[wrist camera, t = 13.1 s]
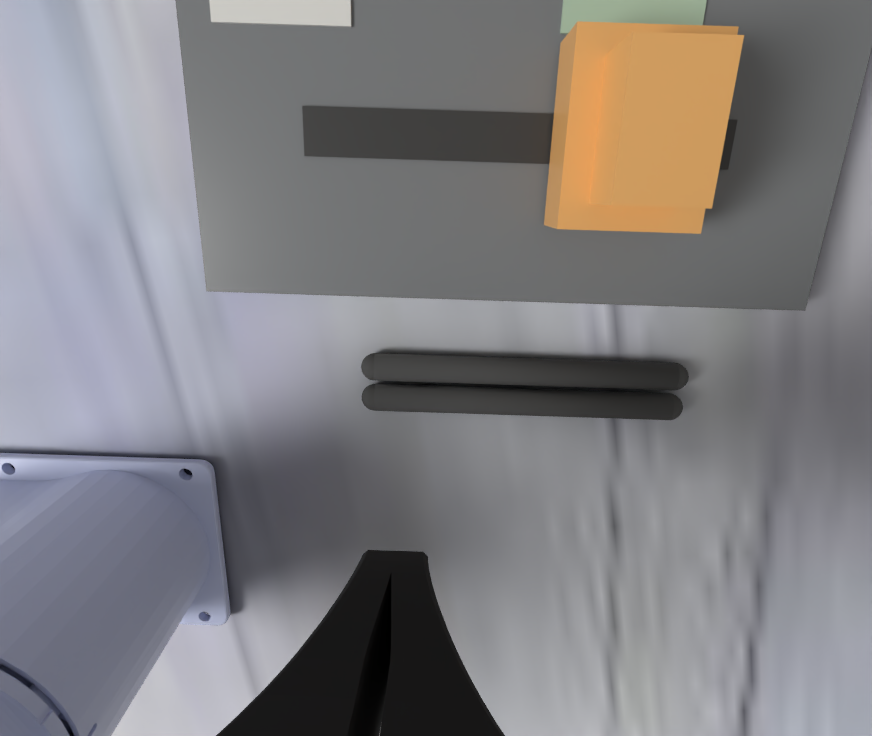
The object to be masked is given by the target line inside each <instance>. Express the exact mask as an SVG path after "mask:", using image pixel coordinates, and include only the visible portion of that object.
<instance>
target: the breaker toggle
mask: <svg viewBox="0 0 872 736" xmlns="http://www.w3.org/2000/svg"><path fill="white" fill-rule="evenodd" d="M738 28H739V27H738V26H707V25H676V24H645V23H613V22H582V21H578V22H577V23H576V24H575V25H574V27H573V28H572V29H571V30H570V32H569V33H568V34H567V35H566V37H565V38H564V39H563V40H562V42H561V43H560V54H559V65H558V76H557V86H556V97H555V108H554V119H553V130H552V141H551V152H550V163H549V174H548V185H547V196H546V207H545V218H544V225H545V226H549V227H552V228H555V229H568V230H599V231H630V232H661V233H692V234H701V231H702V225H703V220H704V214H705V209H706V208H709V209H712V205H713V200H714V195H715V189H716V184H717V178H718V173H719V168H720V162H721V157H722V152H723V146H724V141H725V135H726V130H727V125H728V119H729V114H730V109H731V103H732V98H733V93H734V87H735V82H736V76H737V71H738V66H739V60H740V55H741V50H742V44H743V39H744V35H737V33H738Z"/></svg>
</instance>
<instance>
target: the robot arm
mask: <svg viewBox="0 0 872 736" xmlns="http://www.w3.org/2000/svg"><path fill="white" fill-rule="evenodd" d="M9 463H10V464H12V465H13V466H14V468H15V469H13V468H12V467H11V466H10V464H9ZM184 469H188V470H190V471H191V473H192V475H187V474H186V473H185V472H184ZM204 612H207V613H208V614H210V615H208V614H205V613H204ZM230 612H231V611H230V602H229V594H228V585H227V576H226V567H225V559H224V550H223V541H222V532H221V523H220V515H219V506H218V497H217V488H216V479H215V471H214V468H213V466H212V465H211V464H210V463H209V462H207V461H206V460H201V459H172V458H141V457H110V456H79V455H48V454H17V453H0V736H111V735H112V733H113V732H114V730H115V728H116V727H117V725H118V723H119V722H120V720H121V719H122V717H123V715H124V714H125V712H126V710H127V709H128V707H129V705H130V704H131V702H132V700H133V699H134V697H135V696H136V694H137V692H138V691H139V689H140V687H141V686H142V684H143V682H144V681H145V679H146V677H147V676H148V674H149V673H150V671H151V669H152V668H153V666H154V664H155V663H156V661H157V659H158V658H159V656H160V655H161V653H162V651H163V650H164V648H165V646H166V645H167V643H168V641H169V640H170V638H171V636H172V635H173V633H174V632H175V630H176V628H177V627H178V625H179V624H193V625H222V624H224V623H226V621H227V620H228V618H229V616H230ZM380 728H381V730H380ZM379 733H380V736H505V735H504V734H503V732H502V731H501V729H500V728H499V726H498V725H497V723H496V722H495V720H494V718H493V717H492V715H491V713H490V712H489V710H488V708H487V707H486V705H485V703H484V702H483V700H482V698H481V697H480V695H479V693H478V691H477V689H476V688H475V686H474V684H473V682H472V680H471V678H470V677H469V675H468V673H467V671H466V669H465V667H464V665H463V663H462V661H461V659H460V656H459V654H458V652H457V650H456V648H455V645H454V643H453V641H452V639H451V636H450V634H449V632H448V629H447V627H446V624H445V621H444V619H443V616H442V613H441V611H440V608H439V605H438V602H437V599H436V596H435V592H434V589H433V585H432V582H431V577H430V573H429V567H428V556H427V555H426V554H425V553H424V552H411V551H380V550H368V551H367V552H365V553H364V554H363V556H362V558H361V560H360V562H359V564H358V566H357V567H356V569H355V571H354V573H353V574H352V576H351V578H350V580H349V581H348V583H347V584H346V586H345V588H344V589H343V591H342V592H341V594H340V595H339V597H338V598H337V600H336V601H335V603H334V604H333V606H332V607H331V608H330V610H329V611H328V613H327V614H326V616H325V617H324V619H323V620H322V621H321V623H320V624H319V625H318V627H317V628H316V629H315V630H314V632H313V633H312V634H311V636H310V637H309V638H308V639H307V641H306V642H305V643H304V645H303V646H302V647H301V648H300V650H299V651H298V652H297V653H296V654H295V656H294V657H293V658H292V659H291V660H290V662H289V663H288V664H287V665H286V666H285V667H284V668H283V670H282V671H281V672H280V673H279V674H278V675H277V676H276V677H275V678H274V679H273V681H272V682H271V683H270V684H269V685H268V686H267V687H266V688H265V689H264V690H263V691H262V692H261V693H260V694H259V695H258V696H257V697H256V698H255V699H254V700H253V701H252V702H251V703H250V704H249V705H248V706H247V707H246V708H245V709H244V710H243V711H242V712H241V713H240V714H239V715H238V716H237V717H236V718H235V719H234V720H233V721H232V722H231V723H229V724H228V725H227V726H226V727H225V728H224V729H223V730H222V731H221V732H220V733H219V734H217V735H216V736H379Z"/></svg>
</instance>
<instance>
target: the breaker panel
mask: <svg viewBox="0 0 872 736" xmlns="http://www.w3.org/2000/svg"><path fill="white" fill-rule="evenodd" d="M176 9H177V18H178V28H179V37H180V47H181V56H182V65H183V75H184V84H185V94H186V103H187V112H188V122H189V131H190V141H191V150H192V159H193V169H194V178H195V188H196V197H197V206H198V216H199V225H200V235H201V244H202V253H203V263H204V272H205V282H206V291H213V292H244V293H275V294H306V295H337V296H368V297H399V298H430V299H462V300H493V301H524V302H555V303H586V304H617V305H648V306H679V307H710V308H741V309H772V310H803V311H805V309H806V305H807V301H808V297H809V293H810V290H811V286H812V282H813V278H814V274H815V270H816V266H817V262H818V258H819V254H820V250H821V246H822V242H823V238H824V234H825V230H826V227H827V223H828V219H829V215H830V211H831V207H832V203H833V199H834V195H835V191H836V187H837V183H838V179H839V175H840V171H841V167H842V164H843V160H844V156H845V152H846V148H847V144H848V140H849V136H850V132H851V128H852V124H853V120H854V116H855V112H856V108H857V104H858V101H859V97H860V93H861V89H862V85H863V81H864V77H865V73H866V69H867V65H868V61H869V57H870V53H871V49H872V0H176ZM578 21H582V22H613V23H645V24H676V25H707V26H738V27H739V28H738V33H737V35H744V39H743V44H742V50H741V55H740V60H739V66H738V71H737V76H736V82H735V87H734V93H733V98H732V103H731V109H730V114H729V119H728V125H727V130H726V135H725V141H724V146H723V152H722V157H721V162H720V168H719V173H718V178H717V184H716V189H715V195H714V200H713V205H712V209H709V208H706V209H705V214H704V220H703V225H702V231H701V234H692V233H661V232H630V231H599V230H568V229H555V228H552V227H549V226H545V225H544V218H545V207H546V196H547V185H548V174H549V163H550V152H551V141H552V130H553V119H554V108H555V97H556V86H557V76H558V65H559V54H560V43H561V42H562V40H563V39H564V38H565V37H566V35H567V34H568V33H569V32H570V30H571V29H572V28H573V27H574V25H575V24H576V23H577V22H578Z"/></svg>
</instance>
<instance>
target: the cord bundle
mask: <svg viewBox="0 0 872 736" xmlns="http://www.w3.org/2000/svg"><path fill="white" fill-rule="evenodd" d="M361 368H362V372H363V374H364V375H365V376H366V377H367V378H368V379H370V380H378V381H409V382H440V383H471V384H502V385H533V386H564V387H595V388H626V389H657V390H678V389H681V388H682V387H684V386H685V385H686V383H687V382H688V378H689V376H688V372H687V370H686V368H685V367H684V366H682V365H680V364H678V363H661V362H630V361H599V360H568V359H537V358H506V357H475V356H444V355H413V354H382V353H373V354H370V355H368V356H366V357H365V358H364V360H363V362H362V366H361ZM362 401H363V404H364V405H365V406H366V407H367V408H368V409H370V410H375V411H405V412H436V413H467V414H498V415H529V416H560V417H591V418H622V419H653V420H672V419H675V418H677V417H678V416H679V415H680V414H681V412H682V409H683V405H682V402H681V400H680V399H679V398H678V397H677V396H676V395H674V394H669V393H643V392H612V391H581V390H550V389H519V388H488V387H457V386H426V385H395V384H372V385H369V386H367V387H366V388H365V389H364V391H363V394H362Z"/></svg>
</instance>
